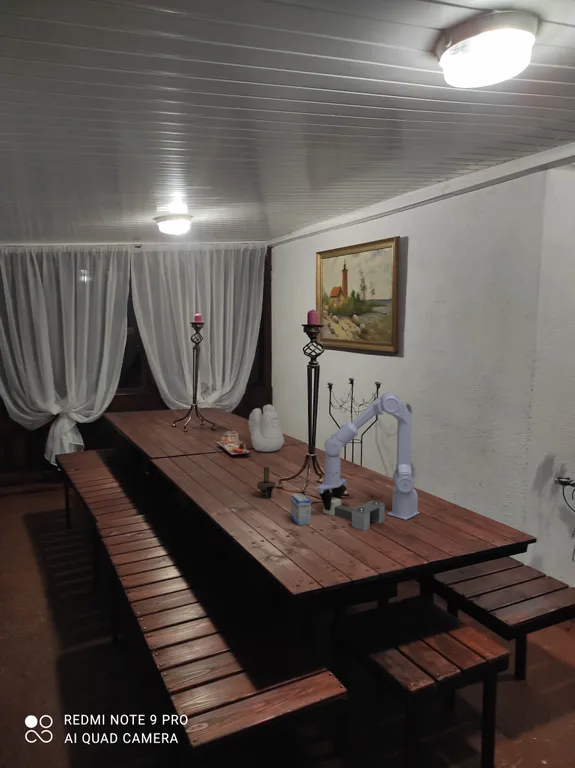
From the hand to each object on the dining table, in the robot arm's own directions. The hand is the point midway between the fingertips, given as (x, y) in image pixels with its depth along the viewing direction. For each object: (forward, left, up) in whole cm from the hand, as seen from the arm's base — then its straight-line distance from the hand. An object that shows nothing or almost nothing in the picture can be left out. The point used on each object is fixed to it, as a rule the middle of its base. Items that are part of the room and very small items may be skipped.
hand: (331, 508), depth 202 cm
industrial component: (+3, -30, -2) cm, 30 cm away
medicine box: (+14, -3, -2) cm, 14 cm away
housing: (0, +16, -2) cm, 16 cm away
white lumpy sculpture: (-50, -85, -2) cm, 98 cm away
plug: (0, +7, -2) cm, 7 cm away
